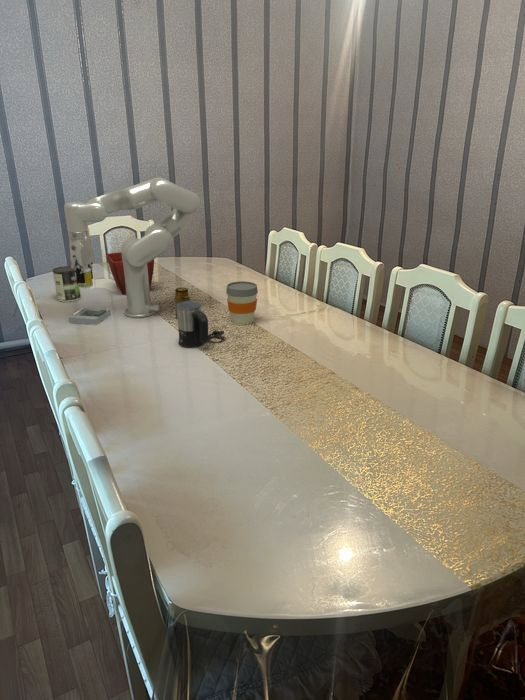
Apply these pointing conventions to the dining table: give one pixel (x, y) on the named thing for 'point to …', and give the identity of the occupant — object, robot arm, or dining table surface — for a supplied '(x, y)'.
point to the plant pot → (118, 270)
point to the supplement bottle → (86, 277)
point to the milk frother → (193, 325)
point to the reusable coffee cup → (242, 301)
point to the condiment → (180, 297)
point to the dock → (89, 315)
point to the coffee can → (66, 284)
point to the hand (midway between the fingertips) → (85, 280)
